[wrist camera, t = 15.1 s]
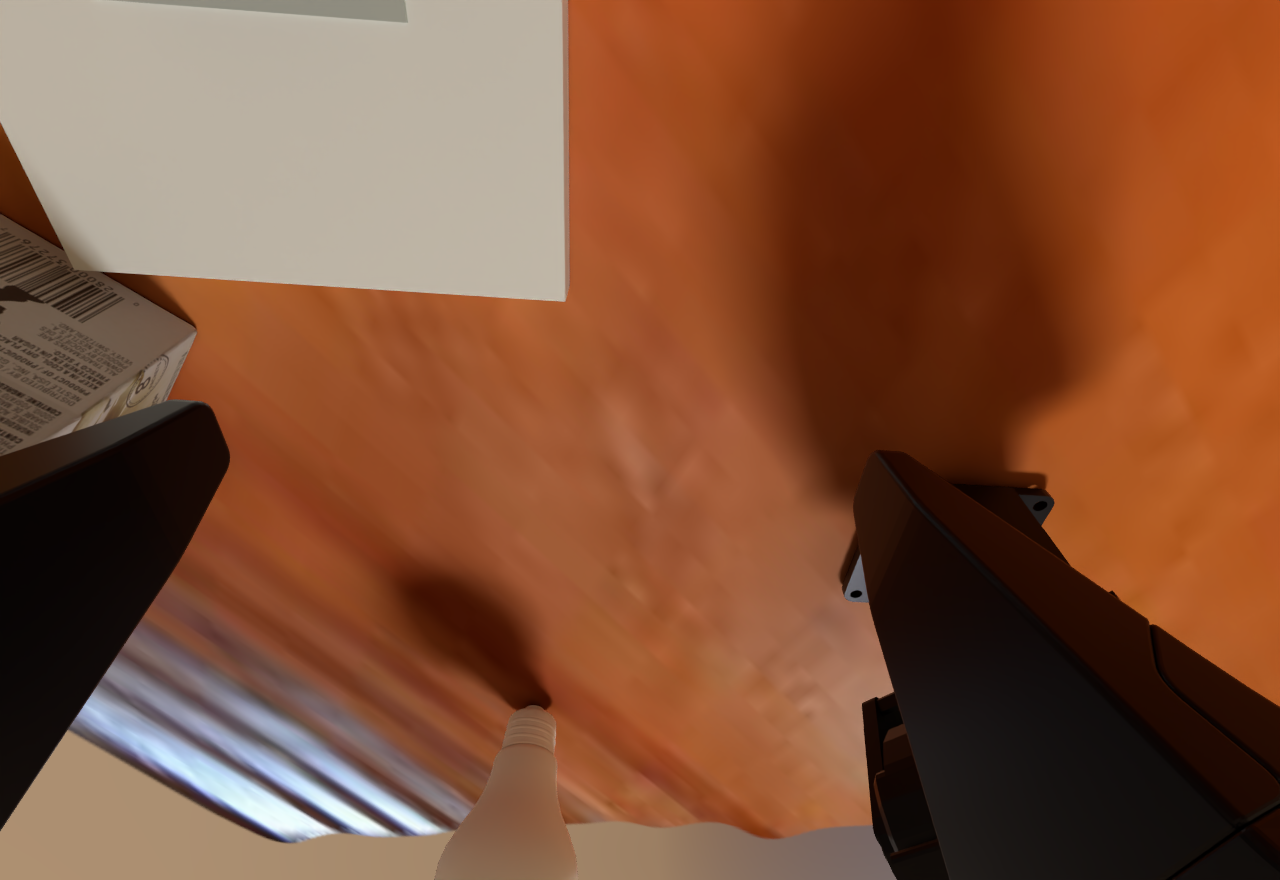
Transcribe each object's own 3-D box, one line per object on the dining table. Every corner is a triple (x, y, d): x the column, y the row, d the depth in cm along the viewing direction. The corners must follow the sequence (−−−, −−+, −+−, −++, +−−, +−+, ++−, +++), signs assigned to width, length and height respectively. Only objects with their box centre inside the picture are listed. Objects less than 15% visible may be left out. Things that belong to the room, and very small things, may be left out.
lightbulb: (523, 660, 30) (471, 936, 21) (614, 707, 33) (601, 973, 24) (455, 708, 33) (383, 971, 24) (544, 748, 35) (509, 1001, 27)
